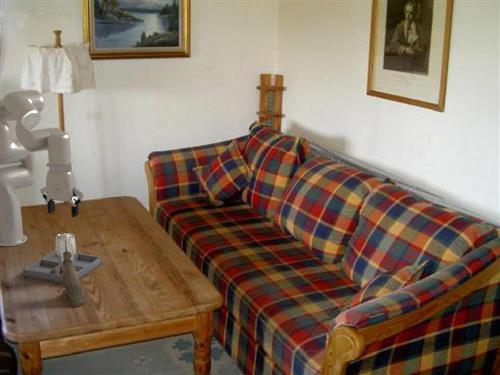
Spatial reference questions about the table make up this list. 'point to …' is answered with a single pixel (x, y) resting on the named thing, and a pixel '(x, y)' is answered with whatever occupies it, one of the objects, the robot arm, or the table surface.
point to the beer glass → (65, 248)
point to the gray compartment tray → (50, 267)
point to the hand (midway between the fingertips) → (63, 214)
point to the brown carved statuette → (71, 283)
